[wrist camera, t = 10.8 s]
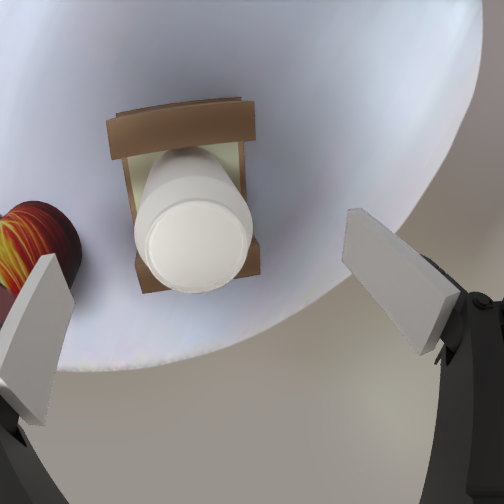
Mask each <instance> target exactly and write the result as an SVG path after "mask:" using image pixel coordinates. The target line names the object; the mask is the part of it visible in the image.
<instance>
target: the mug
mask: <svg viewBox="0 0 504 504" xmlns="http://www.w3.org/2000/svg"><path fill="white" fill-rule="evenodd" d="M53 253H55V255H56V257H57V260H58V263H59V265H60V268H61V270H62V273H63V276H64V278H65V280H66V283H67V285H68V288H69V290H70V289H71V286H72V284H73V281H74V279H75V276H76V274H77V272H78V269H79V266H80V263H81V256H82V253H81V244H80V240H79V237H78V234H77V232H76V230H75V228H74V226H73V225H72V223H71V222H70V220H69V219H68V218H67V217H66V216H65V215H64V214H63V213H62V212H61V211H59V210H58V209H57V208H55V207H53V206H51V205H50V204H48V203H44V202H40V201H28V202H23V203H21V204H19V205H17V206H15V207H14V208H13V209H12V210H10V211H9V212H8V213H7V214H6V215H5V216H4V217H3V218H2V219H1V220H0V325H1V324H2V322H5V320H6V318H7V316H8V314H9V312H10V310H11V308H12V306H13V304H14V302H15V300H16V298H17V296H18V295H19V293H20V291H21V289H22V287H23V286H24V284H25V282H26V280H27V278H28V277H29V275H30V273H31V272H32V270H33V268H34V267H35V265H36V263H37V262H38V260H39V258H40V257H41V256H42V255H48V254H53Z"/></svg>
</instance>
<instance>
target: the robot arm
mask: <svg viewBox="0 0 504 504" xmlns="http://www.w3.org/2000/svg"><path fill="white" fill-rule="evenodd" d="M342 262H343V263H344V264H345V265H346V266H347V267H348V269H349V270H350V271H351V272H352V273H353V274H354V275H355V276H356V278H357V279H358V280H359V281H360V283H361V284H362V285H363V286H364V287H365V289H366V290H367V291H368V292H369V293H370V295H371V296H372V297H373V298H374V299H375V301H376V302H377V303H378V304H379V305H380V307H381V308H382V309H383V310H384V312H385V313H386V314H387V315H388V317H389V318H390V319H391V320H392V321H393V323H394V324H395V325H396V327H397V328H398V329H399V330H400V331H401V333H402V334H403V336H404V337H405V338H406V339H407V341H408V342H409V343H410V345H411V346H412V347H413V348H414V350H415V351H416V352H417V354H418V355H419V356H421V355H423V354H425V353H428V352H430V351H432V350H434V348H435V346H436V344H437V342H438V341H439V339H440V338H441V340H442V341H443V342H444V345H443V347H442V349H441V351H440V353H439V354H438V356H437V358H436V360H435V363H434V364H437V363H438V361H439V360H440V359H441V364H440V365H441V374H440V389H439V400H438V409H437V419H436V426H435V432H434V439H433V445H432V451H431V456H430V461H429V466H428V471H427V475H426V479H425V484H424V488H423V492H422V496H421V499H420V503H419V504H504V298H503V300H502V301H495V302H493V300H492V299H491V298H490V297H488V296H487V295H485V294H483V293H480V292H470V293H467V291H466V290H465V289H463V288H462V287H461V286H460V285H459V284H458V283H457V282H456V281H455V280H454V279H453V278H451V277H450V276H449V275H448V274H446V273H445V271H444V270H442V269H441V268H439V266H438V265H437V264H436V263H434V262H433V261H432V260H431V259H429V258H427V257H425V256H423V255H421V254H418V253H417V252H416V251H415V250H414V249H412V248H411V247H410V246H409V245H408V244H406V243H405V242H404V241H403V240H402V239H400V238H399V237H398V236H397V235H395V234H394V233H393V232H392V231H390V230H389V229H388V228H387V227H385V226H384V225H383V224H382V223H380V222H379V221H378V220H376V219H375V218H374V217H373V216H371V215H370V214H369V213H367V212H366V211H365V210H363V209H362V208H359V209H350V210H348V213H347V223H346V231H345V240H344V248H343V255H342ZM74 305H75V302H74V299H73V297H72V295H71V292H70V290H69V288H68V285H67V283H66V280H65V278H64V276H63V273H62V270H61V268H60V265H59V263H58V260H57V257H56V255H55V253H53V254H48V255H42V256H41V257H40V258H39V260H38V262H37V263H36V265H35V267H34V268H33V270H32V272H31V273H30V275H29V277H28V278H27V280H26V282H25V284H24V286H23V287H22V289H21V291H20V293H19V295H18V296H17V298H16V300H15V302H14V304H13V306H12V308H11V310H10V312H9V314H8V316H7V318H6V320H5V322H2V324H1V325H0V504H69V503H68V501H67V500H66V499H65V497H64V496H63V494H62V493H61V492H60V490H59V489H58V487H57V486H56V484H55V483H54V481H53V480H52V478H51V477H50V476H49V474H48V472H47V471H46V469H45V468H44V466H43V464H42V463H41V461H40V459H39V458H38V456H37V454H36V452H35V451H34V449H33V447H32V445H31V444H30V442H29V440H28V438H27V436H26V435H25V432H24V430H23V429H22V427H21V426H20V425H19V424H18V419H19V416H20V417H21V418H22V419H23V420H24V421H25V422H26V423H27V424H28V425H38V426H45V423H46V417H47V411H48V405H49V401H50V395H51V391H52V386H53V381H54V377H55V373H56V368H57V364H58V360H59V356H60V353H61V349H62V345H63V342H64V338H65V335H66V331H67V328H68V324H69V321H70V318H71V315H72V312H73V309H74Z"/></svg>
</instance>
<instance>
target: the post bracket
mask: <svg viewBox="0 0 504 504" xmlns="http://www.w3.org/2000/svg"><path fill="white" fill-rule="evenodd" d="M106 125H107V132H108V139H109V146H110V153H111V159H112V160H115V159H120V158H122V163H123V169H124V175H125V181H126V186H127V192H128V197H129V202H130V207H131V212H132V217H133V222H134V226H135V221H136V217H137V213H138V209H139V206H140V202H141V198H142V195H143V191H144V188H145V185H146V182H147V178H148V175H149V173H150V170H151V168H152V166H153V165H154V163H155V162H156V160H157V159H158V158H159V157H160V156H162V155H163V154H164V153H166V152H167V151H169V150H173V149H179V148H187V147H198V148H201V149H204V150H206V151H207V152H209V153H210V154H212V155H213V156H214V157H215V158H216V159H217V160H218V162H219V163H220V164H221V166H222V167H223V169H224V170H225V172H226V173H227V175H228V176H229V178H230V179H231V181H232V182H233V184H234V185H235V187H236V188H237V190H238V191H239V193H240V194H241V196H242V197H243V199H244V200H245V202H246V204H247V201H246V181H245V162H244V142H243V141H253V140H256V137H255V113H254V102H252V101H241V97H232V98H219V99H207V100H198V101H189V102H180V103H173V104H166V105H159V106H153V107H147V108H141V109H136V110H130V111H125V112H120V113H116V118H113V119H110V120H108V121H106ZM135 269H136V272H137V276H138V280H139V283H140V287H141V290H142V293H143V294H145V293H152V292H158V291H164V290H171V288H169V287H167V286H165V285H164V284H162V283H161V282H160V281H159V280H157V279H156V277H155V276H154V275H153V274H152V272H151V271H150V269H149V267H148V266H147V265H146V264H145V263H144V261H143V260H142V258H141V256H140V254H139V252H138V250H137V254H136V260H135ZM254 275H260V245H259V244H258V242H257V240H256V238H255V237H254V235H253V234H252V240H251V243H250V246H249V249H248V253H247V257H246V260H245V263H244V265H243V267H242V268H241V270H240V271H239V273H238V274H237V275H236V276H235V277H234V278H233V279H237V278H243V277H249V276H254Z"/></svg>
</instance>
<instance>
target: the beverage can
mask: <svg viewBox="0 0 504 504" xmlns="http://www.w3.org/2000/svg"><path fill="white" fill-rule="evenodd" d="M252 234H253V222H252V216H251V213H250V210H249V208H248V206H247V204H246V202H245V200H244V199H243V197H242V196H241V194H240V193H239V191H238V190H237V188H236V187H235V185H234V184H233V182H232V181H231V179H230V178H229V176H228V175H227V173H226V172H225V170H224V169H223V167H222V166H221V164H220V163H219V162H218V160H217V159H216V158H215V157H214V156H213V155H212V154H210V153H209V152H207V151H206V150H204V149H201V148H198V147H187V148H179V149H173V150H169V151H167V152H166V153H164V154H163V155H162V156H160V157H159V158H158V159H157V160H156V162H155V163H154V165H153V166H152V168H151V170H150V173H149V175H148V178H147V182H146V185H145V188H144V191H143V195H142V198H141V202H140V206H139V209H138V213H137V217H136V221H135V227H134V237H135V243H136V247H137V250H138V252H139V254H140V256H141V258H142V260H143V261H144V263H145V264H146V265H147V266H148V267H149V269H150V271H151V272H152V274H153V275H154V276H155V277H156V279H157V280H159V281H160V282H161V283H162V284H164V285H165V286H167V287H169V288H171V289H173V290H175V291H179V292H183V293H191V294H197V293H205V292H209V291H213V290H215V289H218V288H220V287H222V286H224V285H225V284H227V283H228V282H229V281H231V280H232V279H233V278H234V277H235V276H236V275H237V274H238V273H239V271H240V270H241V268H242V267H243V265H244V263H245V260H246V257H247V253H248V249H249V246H250V243H251V240H252Z"/></svg>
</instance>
